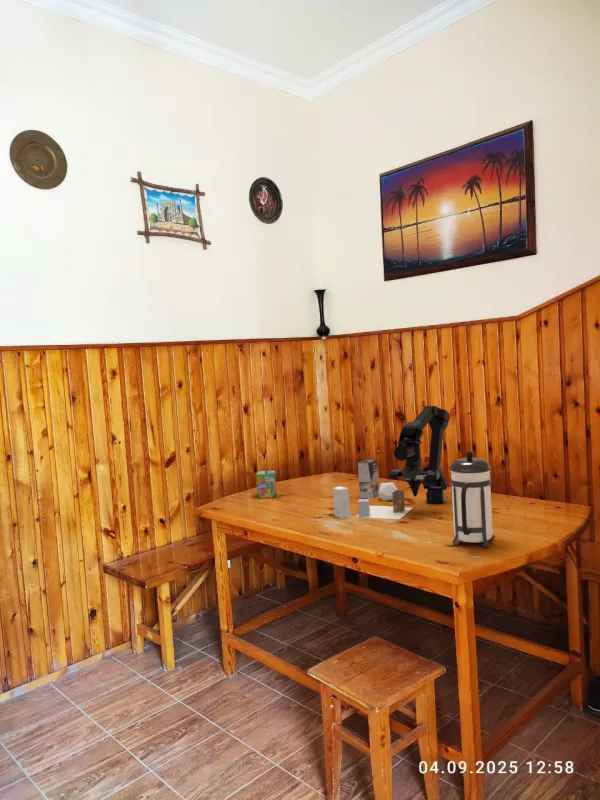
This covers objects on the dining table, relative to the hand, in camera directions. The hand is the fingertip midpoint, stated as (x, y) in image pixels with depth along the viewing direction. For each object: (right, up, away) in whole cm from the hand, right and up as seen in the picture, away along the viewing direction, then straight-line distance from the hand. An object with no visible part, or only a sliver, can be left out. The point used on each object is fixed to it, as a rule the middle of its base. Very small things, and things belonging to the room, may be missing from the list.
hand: (415, 496), depth 235 cm
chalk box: (-61, -8, +49) cm, 79 cm away
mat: (-12, -8, +4) cm, 14 cm away
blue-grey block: (-20, -8, +1) cm, 21 cm away
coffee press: (+11, -9, -40) cm, 43 cm away
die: (-7, -6, +25) cm, 27 cm away
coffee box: (-14, -6, +36) cm, 39 cm away
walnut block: (-6, -7, +3) cm, 9 cm away
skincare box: (-28, -9, +1) cm, 30 cm away
